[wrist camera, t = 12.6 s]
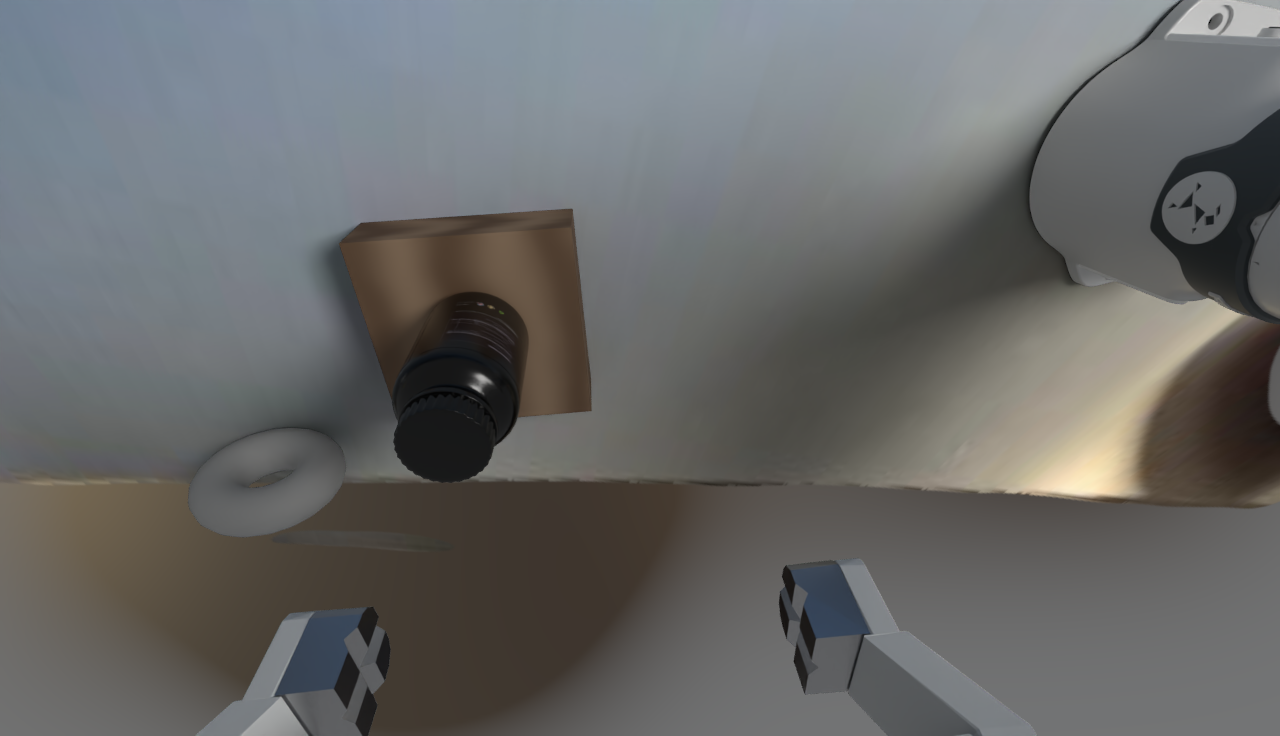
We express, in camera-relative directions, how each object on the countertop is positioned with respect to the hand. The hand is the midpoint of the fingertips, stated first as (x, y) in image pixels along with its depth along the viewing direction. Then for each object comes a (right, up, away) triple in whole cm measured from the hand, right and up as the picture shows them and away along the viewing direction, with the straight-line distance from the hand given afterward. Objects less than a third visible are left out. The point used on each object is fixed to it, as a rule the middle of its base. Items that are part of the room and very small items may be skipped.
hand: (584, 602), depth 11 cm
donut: (-27, -1, +35) cm, 44 cm away
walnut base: (-10, +9, +30) cm, 33 cm away
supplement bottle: (-10, +7, +27) cm, 29 cm away
